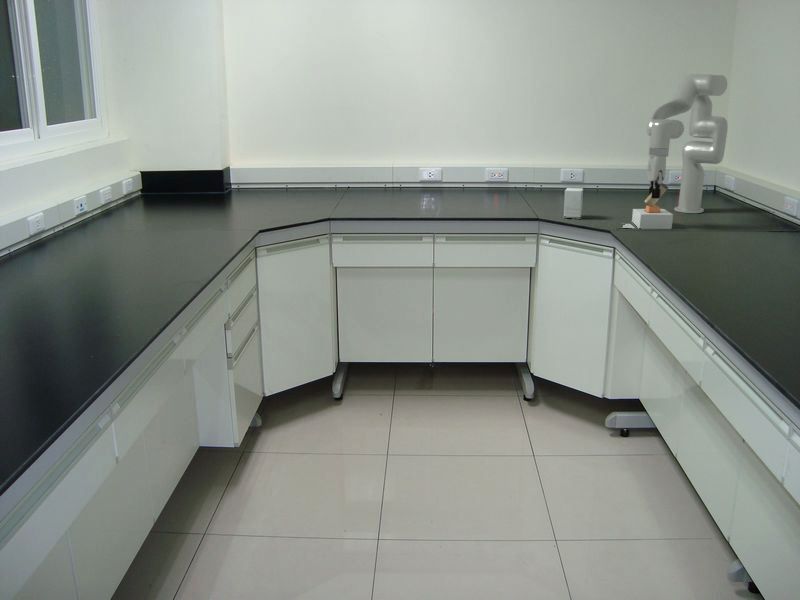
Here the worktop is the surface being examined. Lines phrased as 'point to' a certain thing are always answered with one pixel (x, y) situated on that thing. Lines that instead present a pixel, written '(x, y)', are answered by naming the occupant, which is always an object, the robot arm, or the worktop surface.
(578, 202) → the supplement box
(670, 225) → the box
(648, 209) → the orange cube block
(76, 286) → the worktop surface
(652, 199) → the tan wooden block
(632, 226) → the pad
